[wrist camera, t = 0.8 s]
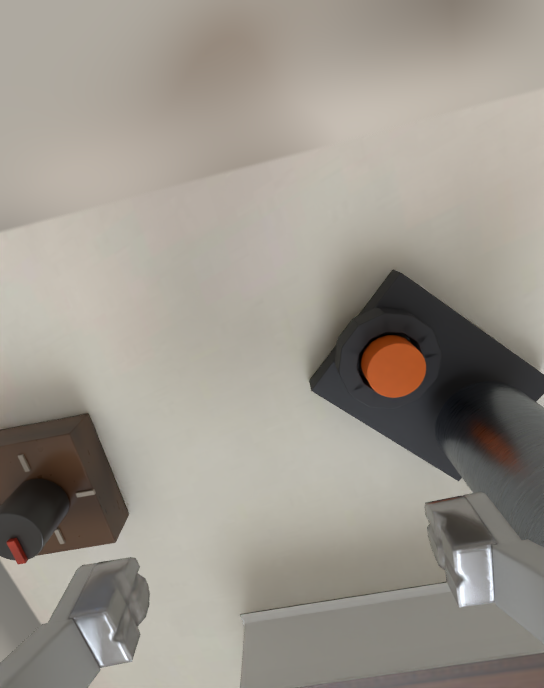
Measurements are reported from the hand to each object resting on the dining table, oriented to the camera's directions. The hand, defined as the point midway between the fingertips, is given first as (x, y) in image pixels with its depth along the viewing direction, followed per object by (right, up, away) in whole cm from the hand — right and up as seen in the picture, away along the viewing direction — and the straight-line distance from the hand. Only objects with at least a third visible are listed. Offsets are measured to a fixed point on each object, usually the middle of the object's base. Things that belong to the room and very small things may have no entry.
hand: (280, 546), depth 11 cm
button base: (+11, +3, +18) cm, 22 cm away
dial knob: (-17, -6, +18) cm, 26 cm away
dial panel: (-17, -5, +21) cm, 28 cm away
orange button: (+7, +5, +14) cm, 17 cm away
